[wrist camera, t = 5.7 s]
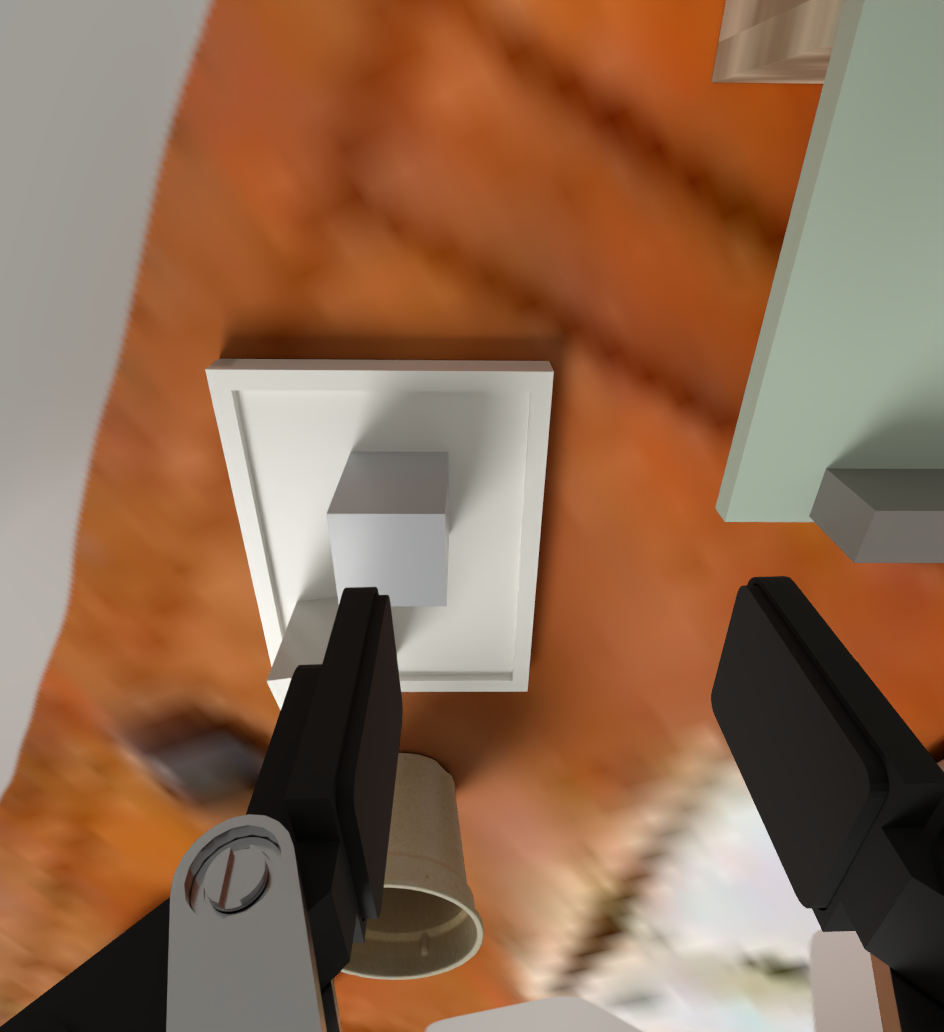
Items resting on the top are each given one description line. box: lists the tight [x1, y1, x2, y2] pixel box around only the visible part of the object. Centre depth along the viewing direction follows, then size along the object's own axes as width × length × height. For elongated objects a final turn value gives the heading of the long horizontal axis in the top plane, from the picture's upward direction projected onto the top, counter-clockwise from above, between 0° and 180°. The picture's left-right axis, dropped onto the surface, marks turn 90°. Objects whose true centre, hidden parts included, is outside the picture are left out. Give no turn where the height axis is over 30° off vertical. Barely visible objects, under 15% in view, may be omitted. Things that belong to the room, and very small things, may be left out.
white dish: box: [205, 359, 554, 692], centre depth 27 cm, size 13×17×1 cm
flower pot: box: [341, 753, 484, 980], centre depth 33 cm, size 9×9×9 cm
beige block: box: [267, 597, 398, 710], centre depth 27 cm, size 4×4×5 cm
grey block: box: [327, 452, 449, 606], centre depth 23 cm, size 4×4×5 cm
